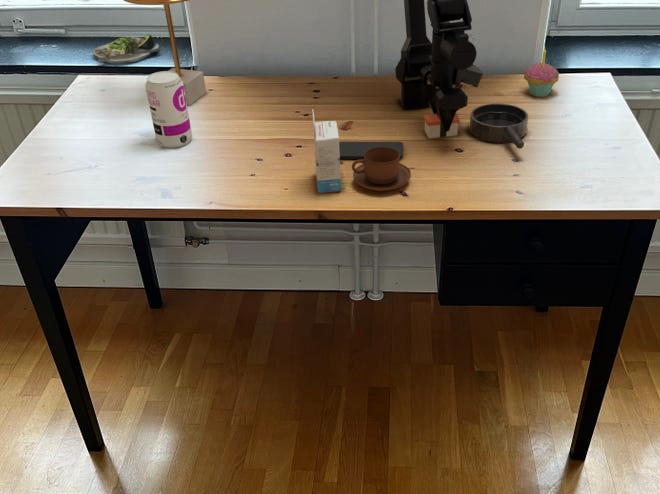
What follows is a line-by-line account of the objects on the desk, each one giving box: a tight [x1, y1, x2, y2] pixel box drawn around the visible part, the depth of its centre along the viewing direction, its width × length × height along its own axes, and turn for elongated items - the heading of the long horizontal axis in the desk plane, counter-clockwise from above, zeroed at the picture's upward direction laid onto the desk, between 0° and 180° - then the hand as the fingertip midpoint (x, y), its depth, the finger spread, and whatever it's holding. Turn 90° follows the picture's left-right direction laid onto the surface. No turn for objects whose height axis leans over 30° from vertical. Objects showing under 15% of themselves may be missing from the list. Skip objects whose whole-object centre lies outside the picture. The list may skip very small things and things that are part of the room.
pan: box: [468, 103, 529, 144], centre depth 178 cm, size 13×13×4 cm
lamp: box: [123, 0, 207, 106], centre depth 187 cm, size 21×21×41 cm
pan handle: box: [505, 127, 525, 150], centre depth 169 cm, size 9×2×2 cm, turn 10°
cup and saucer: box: [351, 147, 412, 192], centre depth 160 cm, size 12×12×6 cm
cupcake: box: [523, 47, 560, 98], centre depth 192 cm, size 9×8×12 cm
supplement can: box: [145, 70, 193, 149], centre depth 175 cm, size 8×8×15 cm
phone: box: [339, 141, 404, 160], centre depth 173 cm, size 7×1×15 cm
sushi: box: [423, 113, 461, 139], centre depth 178 cm, size 7×4×4 cm, turn 100°
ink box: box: [311, 108, 342, 194], centre depth 158 cm, size 9×5×15 cm, turn 5°
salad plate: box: [92, 33, 163, 65], centre depth 222 cm, size 19×18×5 cm
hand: (441, 122), depth 178 cm, fingers open, 9 cm apart
